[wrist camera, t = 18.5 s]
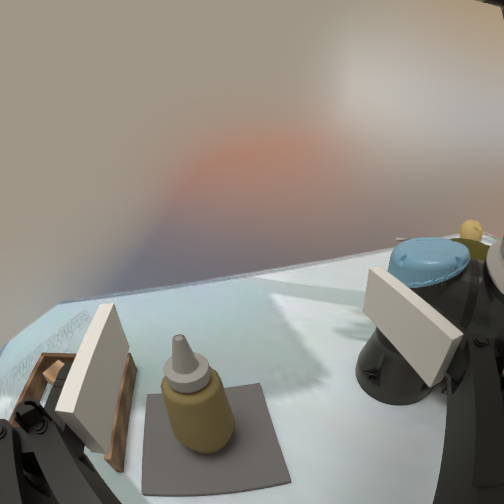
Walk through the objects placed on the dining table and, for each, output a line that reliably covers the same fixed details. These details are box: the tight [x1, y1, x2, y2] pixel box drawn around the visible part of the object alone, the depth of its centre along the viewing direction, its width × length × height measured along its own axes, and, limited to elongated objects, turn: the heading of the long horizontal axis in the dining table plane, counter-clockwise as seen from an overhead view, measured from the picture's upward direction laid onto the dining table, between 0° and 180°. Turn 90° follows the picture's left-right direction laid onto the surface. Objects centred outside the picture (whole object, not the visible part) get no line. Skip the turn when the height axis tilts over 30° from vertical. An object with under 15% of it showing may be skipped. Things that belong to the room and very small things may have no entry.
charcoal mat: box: [142, 383, 291, 496], centre depth 31 cm, size 18×18×1 cm
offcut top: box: [42, 360, 64, 386], centre depth 33 cm, size 4×10×2 cm, turn 71°
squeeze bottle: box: [161, 335, 235, 454], centre depth 27 cm, size 8×8×18 cm
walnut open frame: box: [9, 353, 137, 472], centre depth 31 cm, size 22×20×4 cm
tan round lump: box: [460, 219, 483, 242], centre depth 93 cm, size 12×12×11 cm
